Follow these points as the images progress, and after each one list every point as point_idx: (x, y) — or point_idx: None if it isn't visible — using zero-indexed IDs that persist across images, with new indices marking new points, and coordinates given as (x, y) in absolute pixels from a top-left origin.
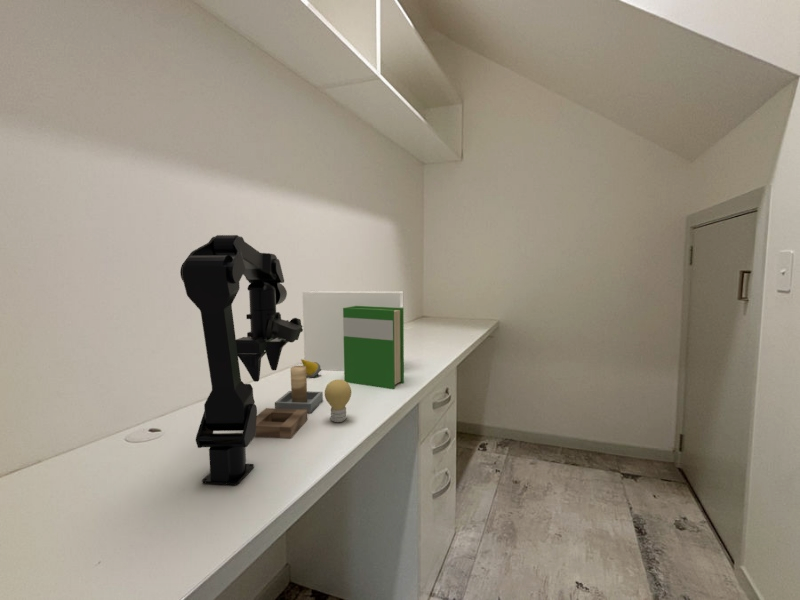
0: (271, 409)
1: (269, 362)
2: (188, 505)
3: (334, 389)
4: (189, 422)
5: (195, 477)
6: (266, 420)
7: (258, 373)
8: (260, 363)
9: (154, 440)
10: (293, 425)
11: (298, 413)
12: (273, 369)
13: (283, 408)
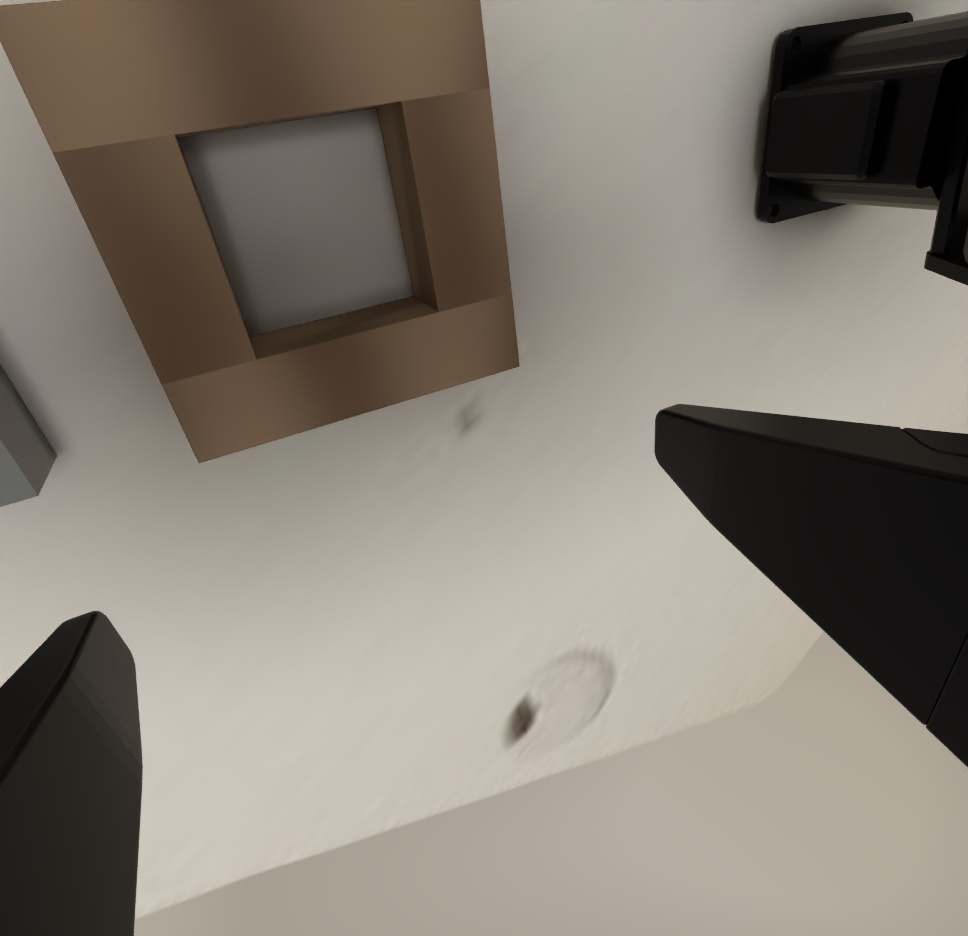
0: (203, 402)
1: (137, 804)
2: None
3: None
4: (424, 702)
5: (820, 259)
6: (344, 327)
7: (788, 417)
8: (940, 463)
9: (592, 641)
10: None
11: (155, 65)
12: (119, 646)
13: (3, 399)
